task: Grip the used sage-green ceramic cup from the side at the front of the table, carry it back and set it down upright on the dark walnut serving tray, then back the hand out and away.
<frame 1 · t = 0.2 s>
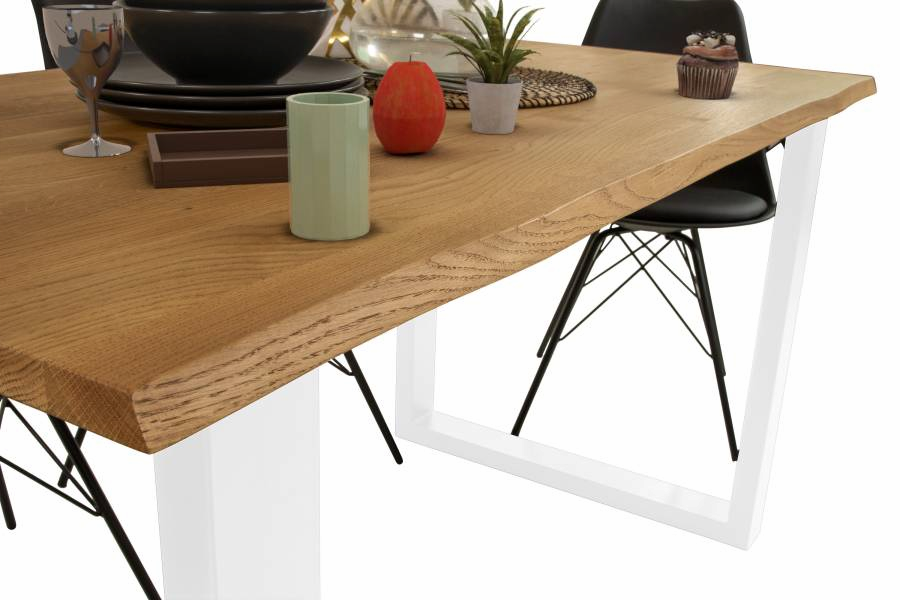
wine glass: (97, 151, 110), on the table
tray: (250, 167, 104), on the table
cupcake: (703, 96, 159), on the table
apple: (408, 154, 113), on the table
cup: (330, 235, 81), on the table
house plant: (496, 130, 128), on the table
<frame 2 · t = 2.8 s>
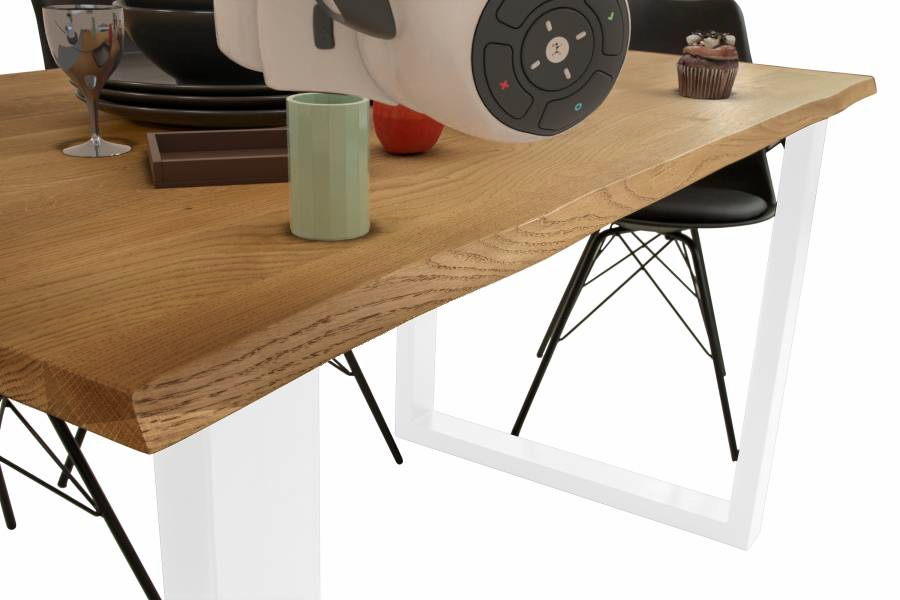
hand: (363, 9, 65), 18 cm above the table, tool horizontal, fingers open, 8 cm apart
nothing on the table moved.
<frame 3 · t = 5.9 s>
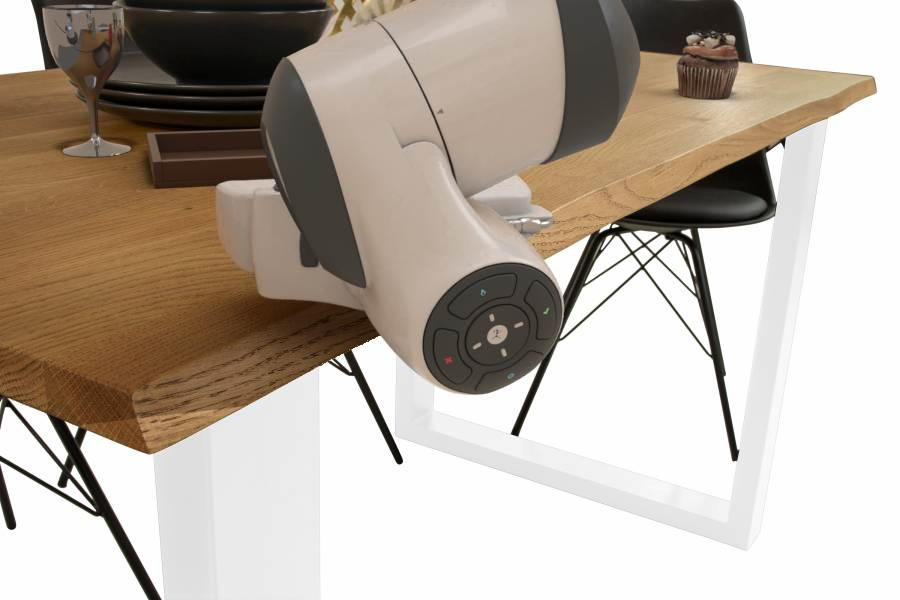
hand: (351, 183, 72), 6 cm above the table, tool horizontal, fingers open, 8 cm apart
nothing on the table moved.
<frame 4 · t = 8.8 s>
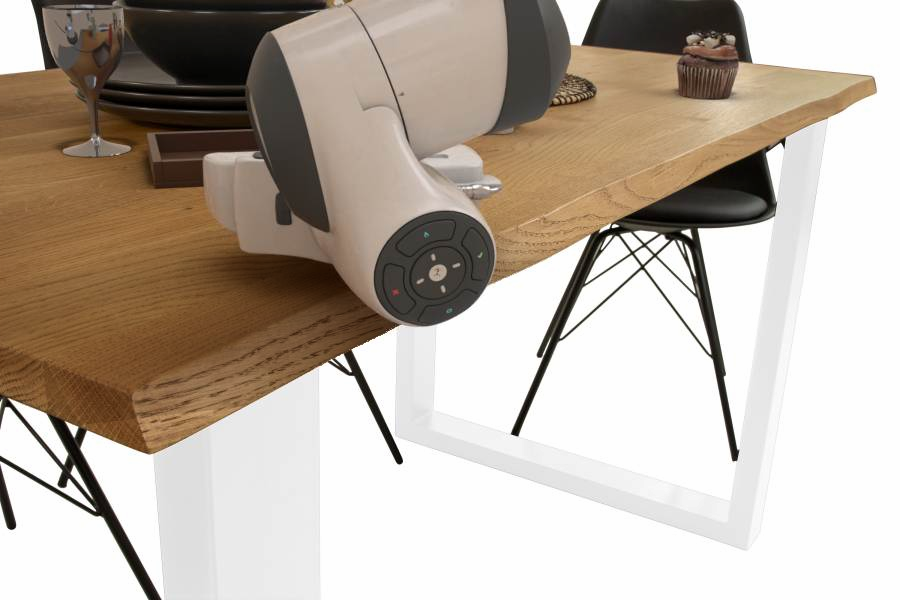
hand: (326, 157, 80), 6 cm above the table, tool horizontal, fingers closed on cup, 6 cm apart
cup: (330, 235, 81), on the table, touching gripper
everything else where it was.
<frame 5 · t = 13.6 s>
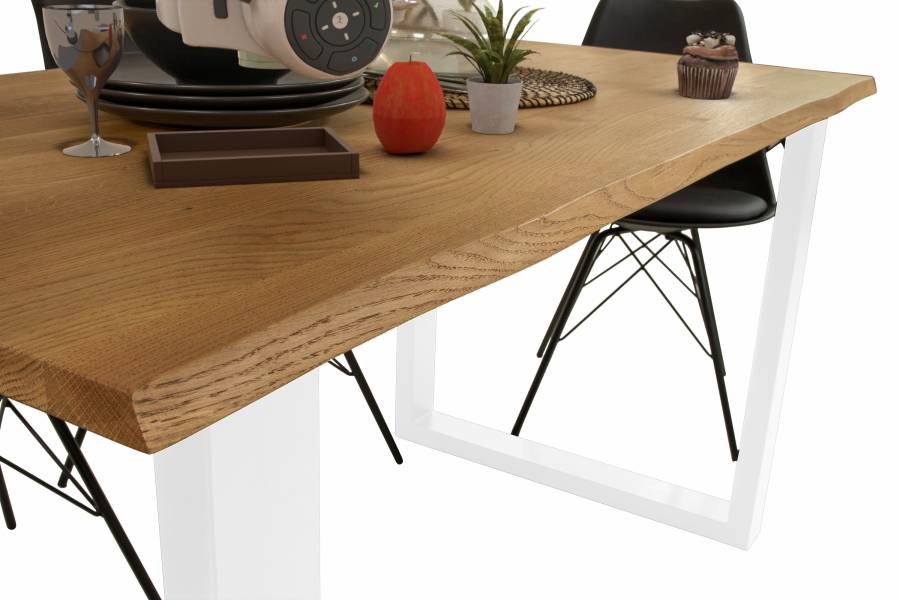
cup: (274, 64, 90), point 12 cm above the table, touching gripper
everything else where it was.
when the fingers open (7 cm above the table, at t = 18.9 s): cup stays where it is, resting on tray.
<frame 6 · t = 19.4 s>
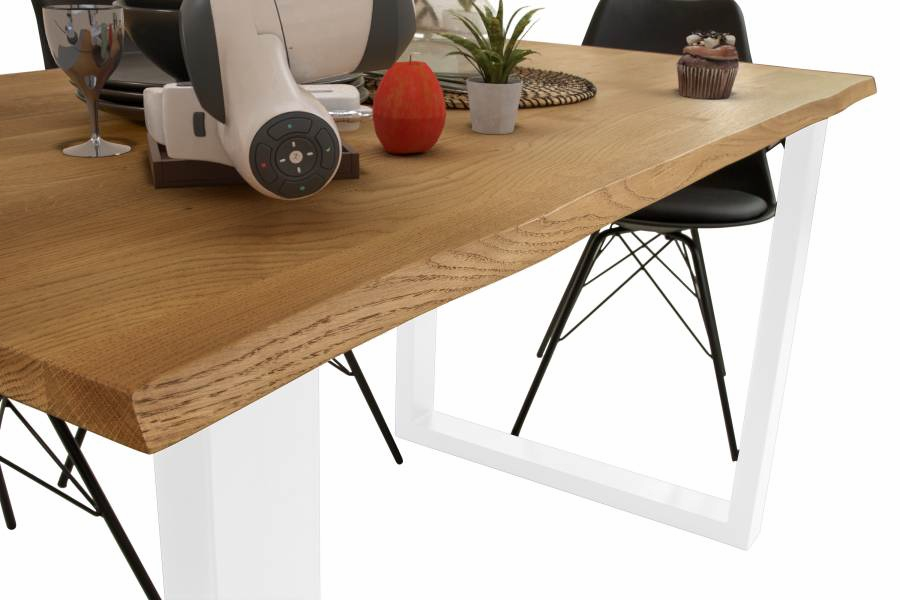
hand: (245, 96, 102), 7 cm above the table, tool horizontal, fingers open, 8 cm apart
cup: (252, 161, 103), point 1 cm above the table, touching tray
everything else where it was.
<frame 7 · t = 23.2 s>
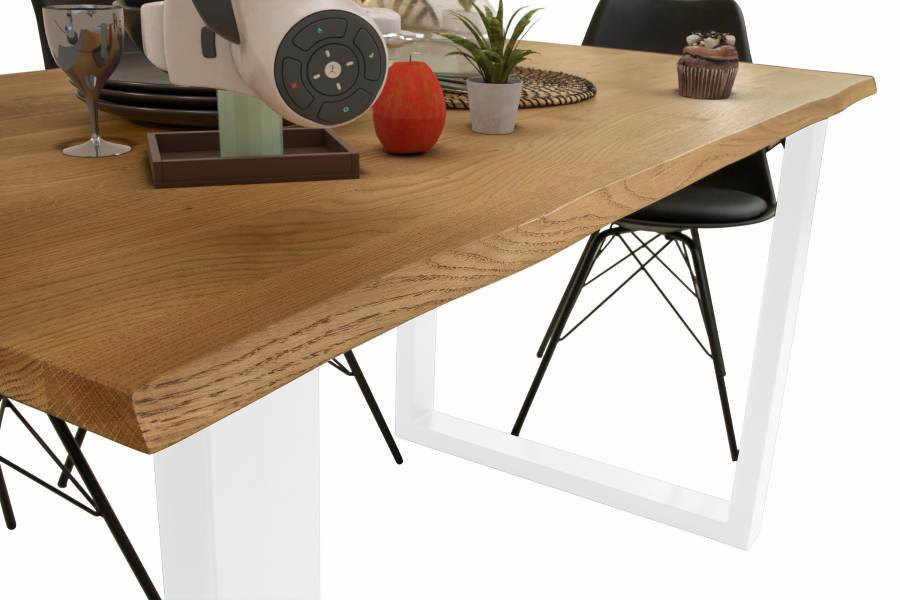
hand: (261, 23, 86), 16 cm above the table, tool horizontal, fingers open, 8 cm apart
nothing on the table moved.
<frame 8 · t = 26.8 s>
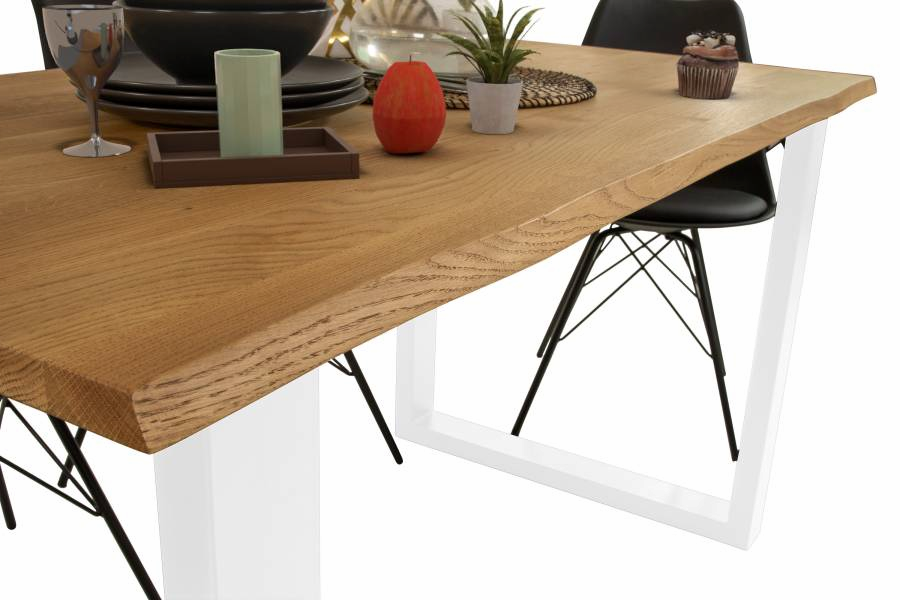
nothing on the table moved.
at the end: cup inside the target area in the tray (0.2 cm from its centre), point 0.6 cm above the tray's base; cup tilted 0°; the gripper is holding nothing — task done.
